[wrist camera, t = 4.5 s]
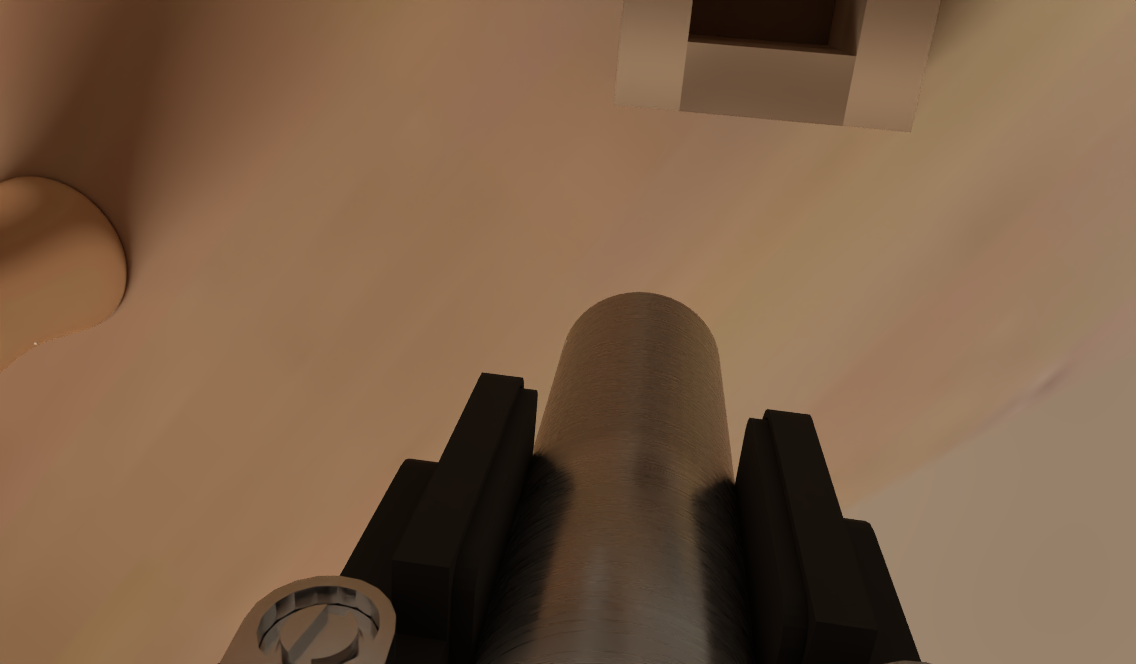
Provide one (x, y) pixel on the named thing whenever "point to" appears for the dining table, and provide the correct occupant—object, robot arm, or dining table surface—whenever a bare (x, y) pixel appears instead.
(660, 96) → the walnut block
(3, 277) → the beer glass
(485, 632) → the steel pin
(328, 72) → the dining table surface
